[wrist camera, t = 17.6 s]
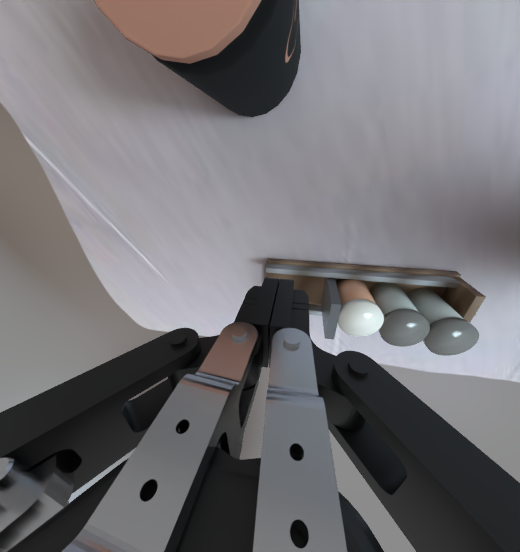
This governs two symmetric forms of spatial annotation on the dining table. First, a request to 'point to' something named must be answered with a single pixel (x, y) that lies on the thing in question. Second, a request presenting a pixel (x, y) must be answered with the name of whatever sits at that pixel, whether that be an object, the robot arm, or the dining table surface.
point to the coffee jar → (219, 45)
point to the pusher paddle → (330, 307)
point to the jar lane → (377, 281)
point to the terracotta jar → (358, 308)
